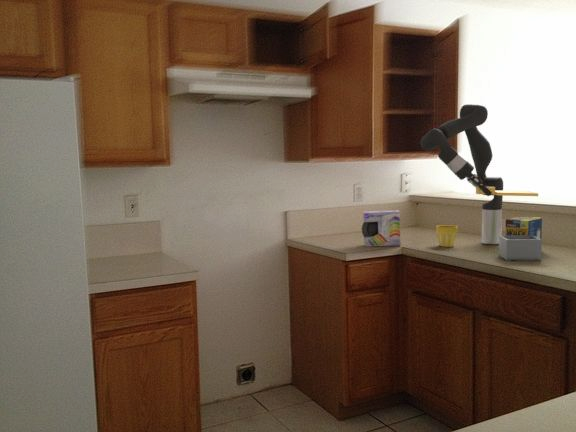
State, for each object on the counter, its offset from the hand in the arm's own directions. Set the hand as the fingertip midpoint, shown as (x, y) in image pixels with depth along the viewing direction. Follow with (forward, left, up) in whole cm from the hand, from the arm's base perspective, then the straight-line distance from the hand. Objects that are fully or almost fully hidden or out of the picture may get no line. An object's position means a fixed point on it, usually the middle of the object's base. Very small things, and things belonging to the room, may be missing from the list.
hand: (488, 194), depth 235 cm
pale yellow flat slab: (0, +6, 0) cm, 6 cm away
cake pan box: (-36, -44, -28) cm, 63 cm away
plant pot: (-34, -12, -28) cm, 46 cm away
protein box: (-16, +19, -28) cm, 37 cm away
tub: (0, +13, -28) cm, 31 cm away
